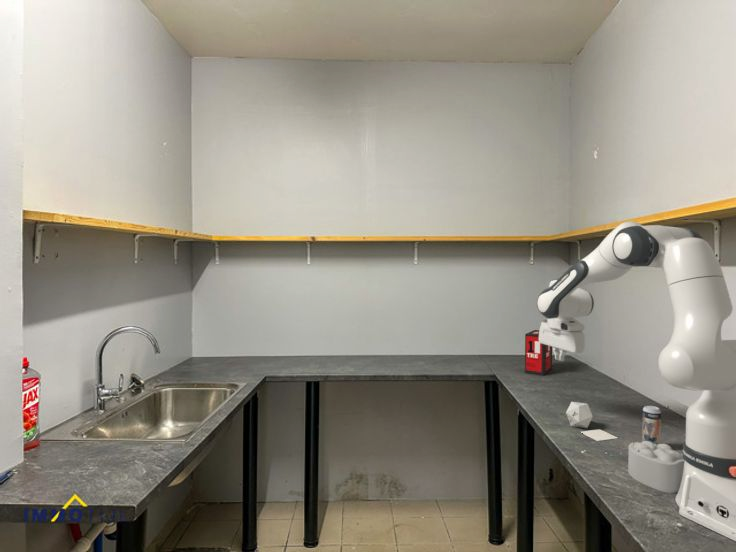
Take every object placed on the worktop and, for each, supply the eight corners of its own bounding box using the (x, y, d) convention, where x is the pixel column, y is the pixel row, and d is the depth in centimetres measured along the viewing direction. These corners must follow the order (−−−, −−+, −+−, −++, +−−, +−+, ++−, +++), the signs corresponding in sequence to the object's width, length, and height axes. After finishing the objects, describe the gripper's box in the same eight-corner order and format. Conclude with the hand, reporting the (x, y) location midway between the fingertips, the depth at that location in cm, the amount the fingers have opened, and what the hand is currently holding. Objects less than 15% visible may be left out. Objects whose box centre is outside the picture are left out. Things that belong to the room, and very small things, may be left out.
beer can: (640, 446, 135) (640, 407, 134) (644, 441, 138) (644, 404, 138) (658, 450, 131) (659, 411, 131) (662, 446, 135) (663, 407, 134)
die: (560, 422, 156) (560, 406, 151) (577, 408, 158) (577, 392, 153) (581, 438, 150) (581, 421, 144) (597, 423, 152) (598, 406, 147)
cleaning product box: (534, 366, 236) (535, 329, 235) (552, 369, 230) (552, 331, 230) (524, 373, 222) (525, 334, 222) (543, 375, 217) (543, 335, 216)
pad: (617, 438, 141) (618, 437, 141) (597, 441, 138) (597, 440, 138) (599, 429, 148) (599, 429, 148) (580, 432, 146) (580, 431, 146)
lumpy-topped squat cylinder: (668, 495, 107) (669, 460, 106) (618, 472, 118) (618, 440, 118) (693, 485, 111) (694, 452, 111) (642, 464, 123) (642, 434, 123)
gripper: (534, 319, 169) (534, 354, 170) (573, 327, 149) (572, 367, 150) (548, 318, 171) (548, 353, 171) (588, 326, 151) (587, 366, 152)
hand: (559, 360), depth 160 cm, fingers closed
